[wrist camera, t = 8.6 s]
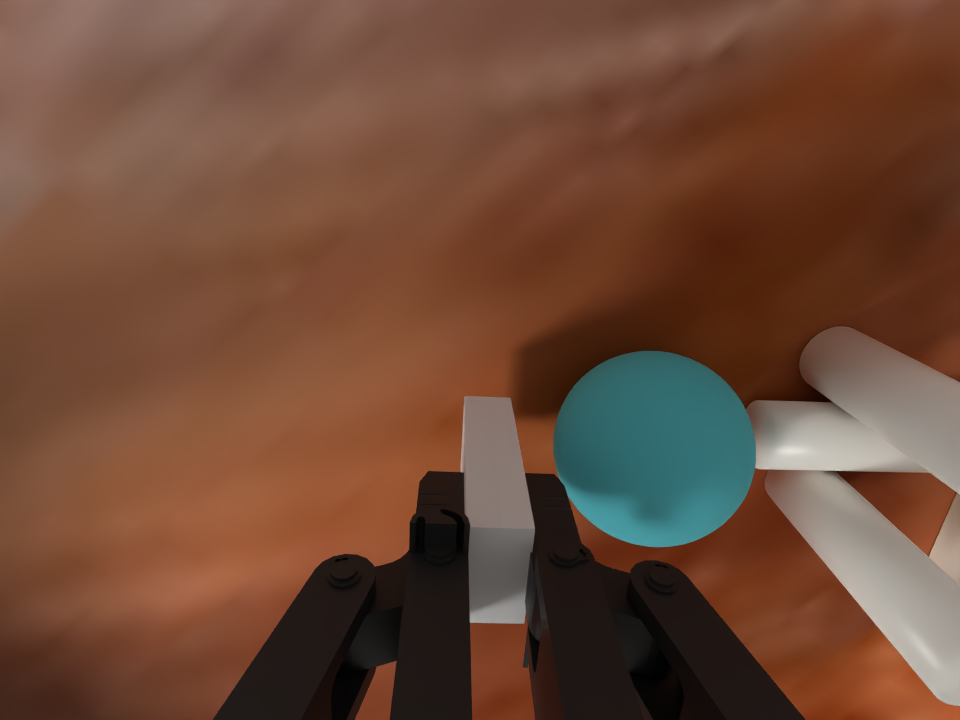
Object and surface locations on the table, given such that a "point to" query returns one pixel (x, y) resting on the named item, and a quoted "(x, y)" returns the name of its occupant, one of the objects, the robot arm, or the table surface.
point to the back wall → (949, 543)
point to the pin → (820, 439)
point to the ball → (654, 448)
